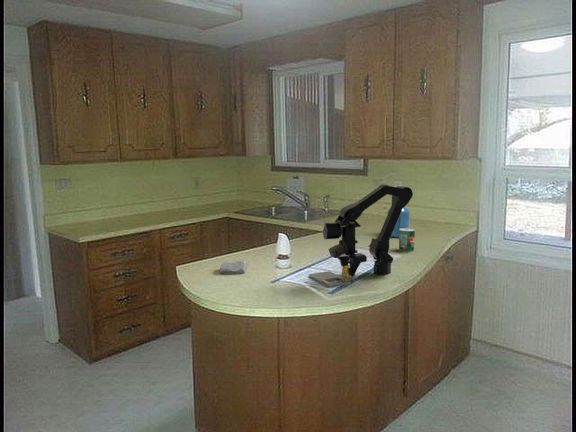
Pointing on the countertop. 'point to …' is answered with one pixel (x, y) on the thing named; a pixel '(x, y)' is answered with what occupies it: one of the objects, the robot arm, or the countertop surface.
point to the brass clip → (346, 271)
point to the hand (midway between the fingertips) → (348, 274)
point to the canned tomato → (406, 239)
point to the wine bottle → (401, 221)
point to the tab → (349, 277)
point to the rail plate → (329, 279)
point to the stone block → (233, 267)
